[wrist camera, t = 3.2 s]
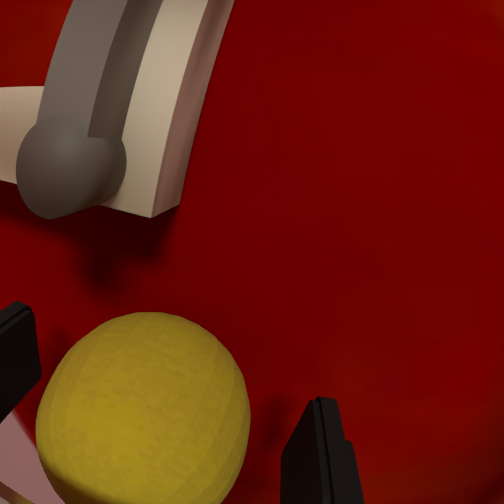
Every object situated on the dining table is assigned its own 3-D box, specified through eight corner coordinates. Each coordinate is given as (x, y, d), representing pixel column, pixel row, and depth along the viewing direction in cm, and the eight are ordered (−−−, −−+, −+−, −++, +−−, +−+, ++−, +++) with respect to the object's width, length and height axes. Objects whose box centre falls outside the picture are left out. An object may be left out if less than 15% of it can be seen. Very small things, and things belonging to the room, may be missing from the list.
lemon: (216, 248, 10) (89, 454, 3) (281, 379, 11) (275, 583, 4) (92, 302, 11) (-49, 437, 4) (161, 408, 12) (96, 562, 5)
